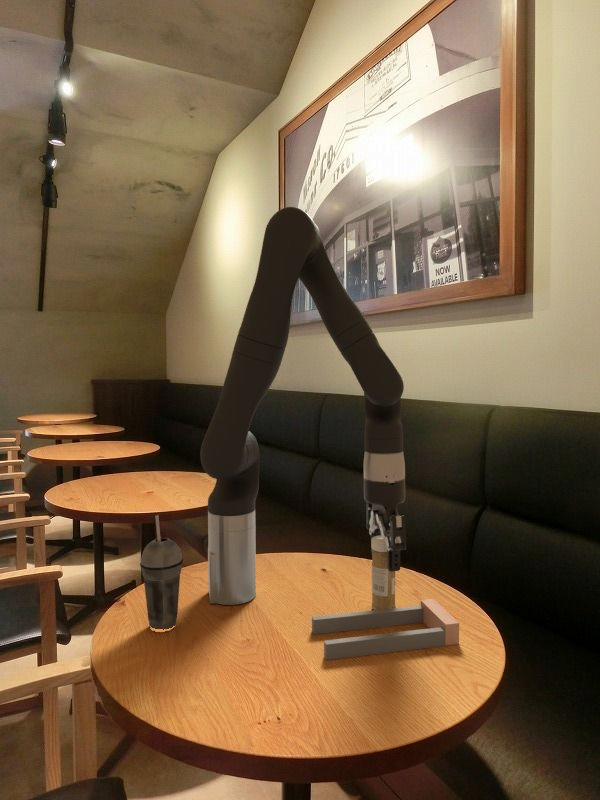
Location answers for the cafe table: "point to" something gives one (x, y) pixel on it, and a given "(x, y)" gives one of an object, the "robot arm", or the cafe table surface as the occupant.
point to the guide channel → (429, 612)
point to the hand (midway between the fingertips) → (385, 562)
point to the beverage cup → (161, 580)
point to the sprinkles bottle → (381, 576)
